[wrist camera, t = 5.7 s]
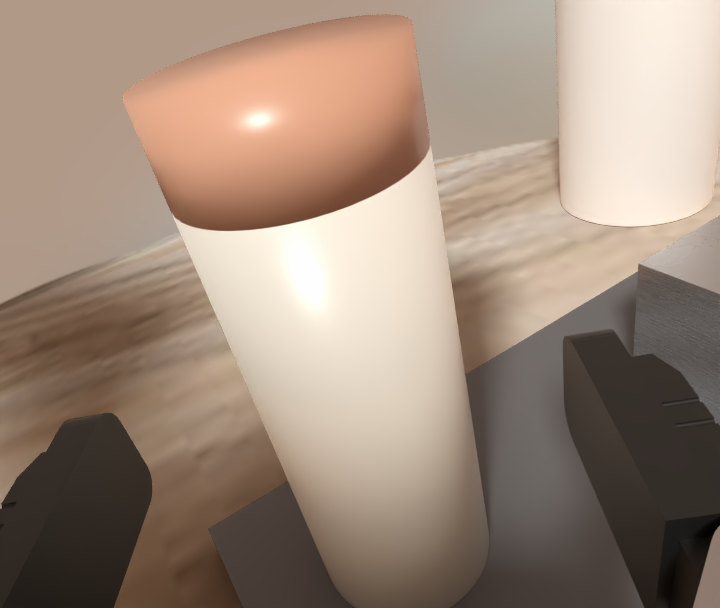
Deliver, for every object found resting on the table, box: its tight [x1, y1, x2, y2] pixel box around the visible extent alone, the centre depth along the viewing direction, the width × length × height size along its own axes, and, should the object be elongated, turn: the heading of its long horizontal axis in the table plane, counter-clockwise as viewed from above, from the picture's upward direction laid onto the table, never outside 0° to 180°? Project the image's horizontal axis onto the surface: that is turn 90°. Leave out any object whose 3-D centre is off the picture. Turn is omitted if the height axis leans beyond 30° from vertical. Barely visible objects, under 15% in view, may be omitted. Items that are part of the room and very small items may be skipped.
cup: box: [555, 0, 720, 227], centre depth 30 cm, size 8×8×16 cm
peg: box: [122, 15, 489, 608], centre depth 14 cm, size 5×5×14 cm
